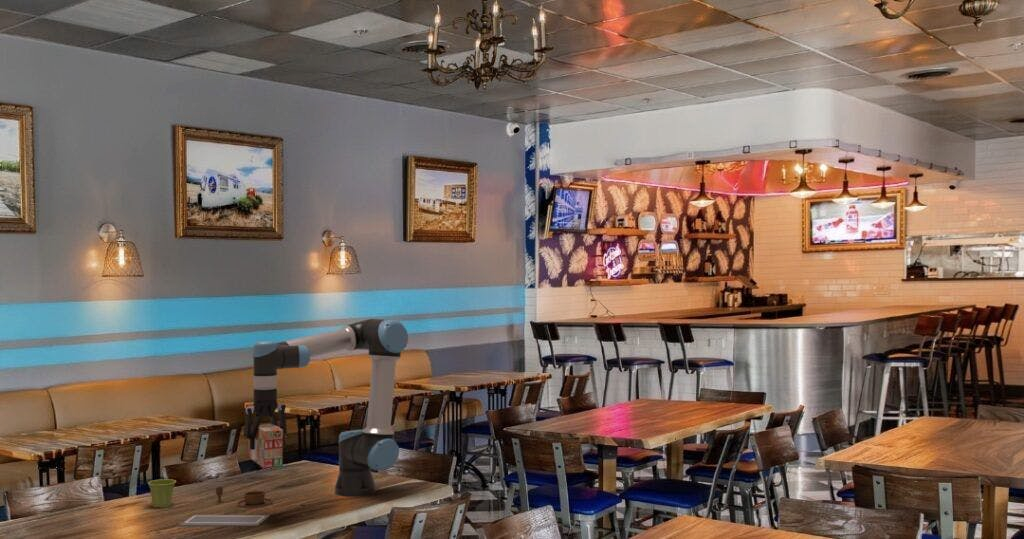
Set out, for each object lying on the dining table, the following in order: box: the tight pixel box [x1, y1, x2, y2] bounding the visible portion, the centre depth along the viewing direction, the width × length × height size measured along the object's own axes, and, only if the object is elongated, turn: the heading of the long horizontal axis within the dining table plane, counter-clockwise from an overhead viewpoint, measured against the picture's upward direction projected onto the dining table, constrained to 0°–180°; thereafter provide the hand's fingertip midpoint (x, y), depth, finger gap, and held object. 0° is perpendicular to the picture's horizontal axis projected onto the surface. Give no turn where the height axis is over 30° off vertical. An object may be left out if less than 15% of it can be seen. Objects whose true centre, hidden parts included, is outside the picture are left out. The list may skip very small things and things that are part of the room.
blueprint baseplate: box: [178, 514, 271, 528], centre depth 322 cm, size 26×13×1 cm, turn 86°
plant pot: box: [147, 478, 177, 509], centre depth 346 cm, size 9×9×9 cm
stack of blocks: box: [247, 423, 284, 469], centre depth 323 cm, size 21×6×12 cm, turn 28°
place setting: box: [215, 486, 273, 509], centre depth 349 cm, size 18×20×6 cm
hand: (265, 457), depth 322 cm, fingers closed on stack of blocks, 7 cm apart
